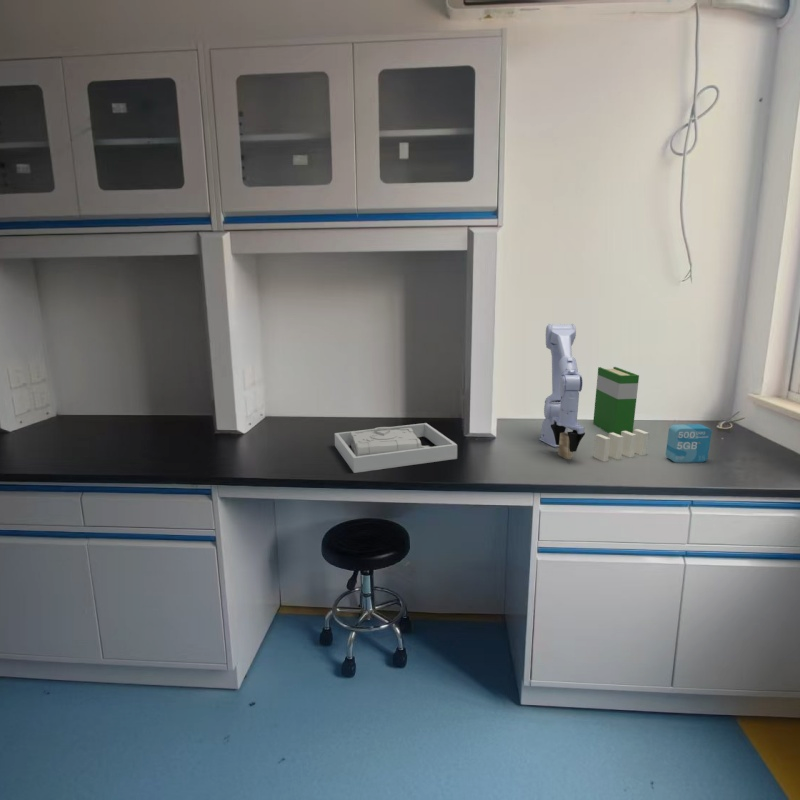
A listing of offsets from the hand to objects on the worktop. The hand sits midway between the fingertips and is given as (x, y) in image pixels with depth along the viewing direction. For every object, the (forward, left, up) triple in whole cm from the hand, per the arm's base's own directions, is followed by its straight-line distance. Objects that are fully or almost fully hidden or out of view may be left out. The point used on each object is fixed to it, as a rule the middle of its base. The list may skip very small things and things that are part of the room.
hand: (565, 447), depth 176 cm
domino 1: (0, 0, -3) cm, 3 cm away
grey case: (-26, -54, -4) cm, 61 cm away
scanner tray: (-25, -54, -3) cm, 60 cm away
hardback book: (-19, +37, -4) cm, 42 cm away
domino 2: (+6, +10, -3) cm, 12 cm away
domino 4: (+6, +21, -3) cm, 22 cm away
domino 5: (+6, +27, -3) cm, 27 cm away
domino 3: (+6, +16, -3) cm, 17 cm away
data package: (+17, +36, -4) cm, 40 cm away
